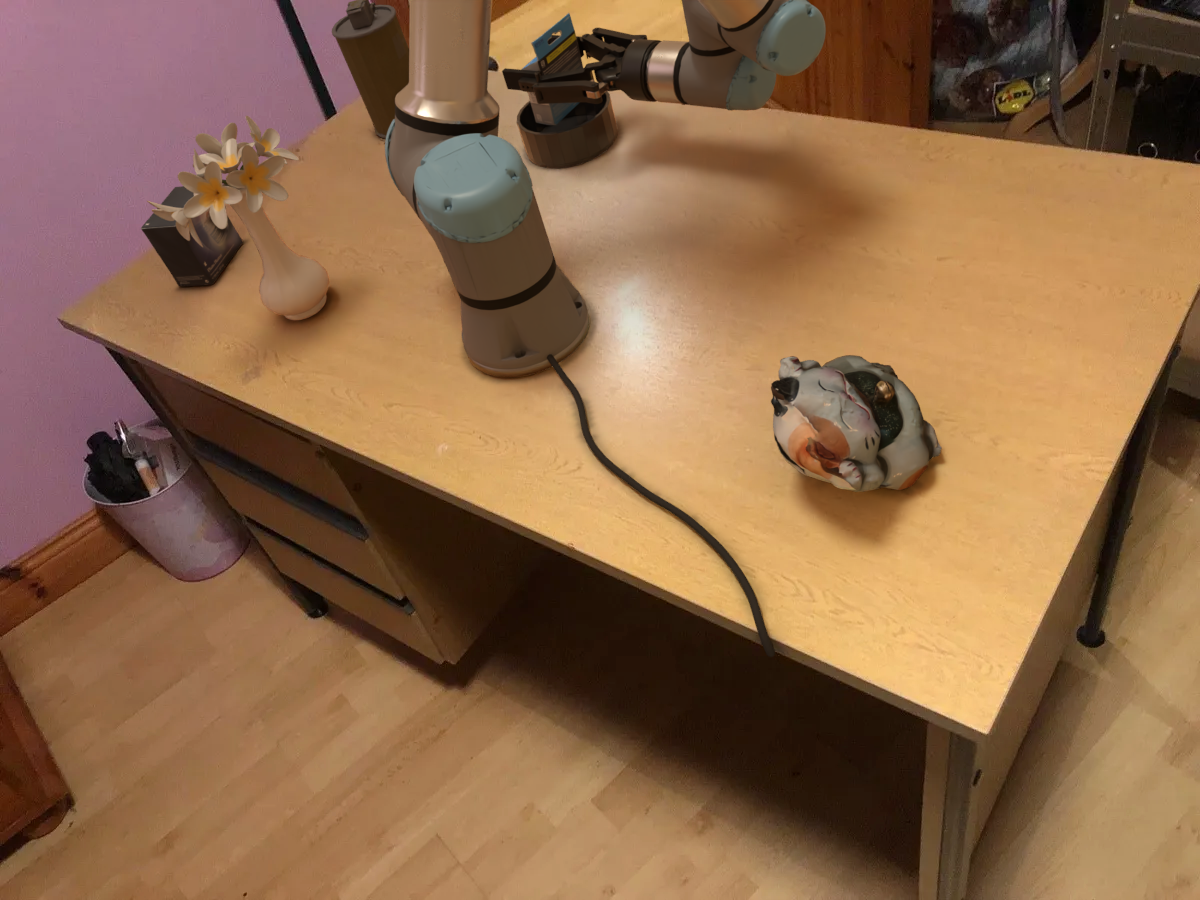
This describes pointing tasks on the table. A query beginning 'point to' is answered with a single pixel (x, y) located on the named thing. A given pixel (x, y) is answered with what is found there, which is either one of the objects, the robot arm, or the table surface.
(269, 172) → the flower vase
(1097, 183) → the table surface
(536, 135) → the round brown bowl
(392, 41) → the canister
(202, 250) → the small box
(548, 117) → the label tape box
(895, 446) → the lucky cat figurine
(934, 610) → the table surface
